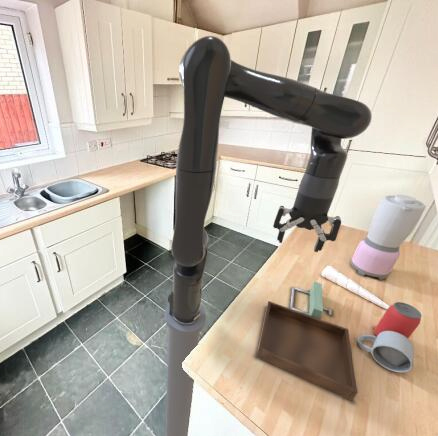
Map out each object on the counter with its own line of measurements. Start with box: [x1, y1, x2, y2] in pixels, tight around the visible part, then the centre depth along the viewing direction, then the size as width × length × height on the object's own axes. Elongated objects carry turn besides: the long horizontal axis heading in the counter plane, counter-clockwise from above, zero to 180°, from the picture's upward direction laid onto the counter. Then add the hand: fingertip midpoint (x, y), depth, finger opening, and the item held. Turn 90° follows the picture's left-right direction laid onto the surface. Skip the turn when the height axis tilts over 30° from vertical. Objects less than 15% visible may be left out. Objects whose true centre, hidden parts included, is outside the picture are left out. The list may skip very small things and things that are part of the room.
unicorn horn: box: [320, 265, 391, 310], centre depth 86 cm, size 5×24×5 cm, turn 28°
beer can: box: [374, 301, 423, 339], centre depth 69 cm, size 7×7×12 cm
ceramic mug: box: [356, 331, 415, 373], centre depth 66 cm, size 11×8×8 cm
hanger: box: [289, 281, 333, 319], centre depth 83 cm, size 12×14×5 cm
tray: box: [256, 300, 358, 402], centre depth 70 cm, size 22×20×4 cm
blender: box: [349, 194, 427, 281], centre depth 92 cm, size 16×12×32 cm
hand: (297, 245), depth 67 cm, fingers open, 8 cm apart
